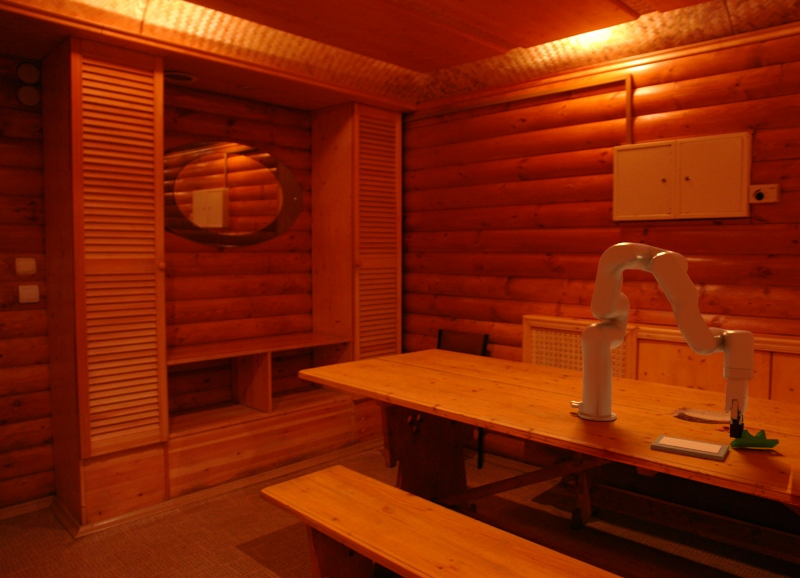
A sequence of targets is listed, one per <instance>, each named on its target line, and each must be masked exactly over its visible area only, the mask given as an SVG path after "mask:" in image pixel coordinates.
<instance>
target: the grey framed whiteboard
mask: <svg viewBox="0 0 800 578" xmlns="http://www.w3.org/2000/svg"><path fill="white" fill-rule="evenodd" d="M650 450H655V451H661V452H667V453H674V454H679V455H685V456H692V457H695V458H696V457H697V458H701V459H702V458H703V459H708V460H713V461H717V462H718V461H719V462H723V461H724V460H725V458H726V456H727V454H728V452H729V450H730V446H729V445H726V444H719V443H714V442H707V441H701V440H700V441H699V440H694V439H689V438H684V437H683V438H682V437H676V436H670V435H663V434H659V435H658V437H657V438H656V439H655V440H654V441H653V442H652V443H651V444H650Z"/></svg>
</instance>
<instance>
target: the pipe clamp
mask: <svg viewBox="0 0 800 578" xmlns="http://www.w3.org/2000/svg"><path fill="white" fill-rule="evenodd" d="M779 444H780V441H779V439H778V438H767V436H766V430H765V429H761V430H760V431H758V432H757V433H755V435H753V434H751V433H750V432H749V430H748V429H745V428H744V431H742V438H733V439H732V440H731V442H730V443H729V445H730V446H729V447H730V448H755V449H756V448H758V449H761V448H762V449H773V448H775V447H777V445H779Z"/></svg>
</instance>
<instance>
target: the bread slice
mask: <svg viewBox="0 0 800 578" xmlns="http://www.w3.org/2000/svg"><path fill="white" fill-rule="evenodd" d="M670 415H672V417H673V418H674V419H675V418H676V419H679V420H681V421H686V422H694V423H705V424H730V419H731V413H730V412H728V413H725V412H724V411H723V412H722V411H716V410H707V409H699V408H691V407H686V406H684V407H679V408H677V409H675V410H673V411H672V412H671V413H670Z"/></svg>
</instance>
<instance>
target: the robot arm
mask: <svg viewBox="0 0 800 578" xmlns="http://www.w3.org/2000/svg"><path fill="white" fill-rule="evenodd" d="M626 270H640V271H644V272H647V273H651V274H652V275H653V277H654V279H655V280H656V282H657V284H658V285H659V286H660V288H661V290H662V292H663V293H664V295H665V297H666V298H667V300H668V302H669V304H670V305H671V308H672V313H673V317H674V320H675V323H676V326H677V327H678V330H679V332H680V333H681V335H682V337H683V339H684V340H685V341H686V343H687V345H688V346H689V348H690V349H691V350H692V351H693V352H694V353H696V354H698V355H702V356H709V355H712V354H717V353H723V364H722V365H723V367H722V368H723V374H722V375H723V378H724V379H726V383H725V394H724V395H725V396H724V410H723V412H724V413H730V414H731V419H730V423H729V437H730V439H731V438H733V439H735V438H742V431H744V430H745V423H744V420H745V419H744V414H745V413H746V411H747V409H748V403H749V381H753V380H754V365H755V364H754V362H755V361H754V360H755V359H754V356H755V354H754V353H755V335H754V333H753V332H752V331H751V330H750V331H748V330H745V329H744V330H743V329H742V330H741V329H724V328H721V327H709V326H708V324H707V323H706V321H705V320H704V317H703V316H702V313H701V311H700V308H699V299H700V293H699V290H698V289H697V287H696V286H695V283H694V282H693V281H692V280H691V278H690V276H689V275H688V273H687V272H688V270H689V263H688V261H687V259H686V257H685V256H684V255H683V254H681V253H679V252H675V251H671V250H668V249H663V248H660V247H655V246H653V245H652V246H651V245H648V244H645V243H638V242H637V243H635V242H621V243H617V244H613V245H611V246H609V247H608V248H607V249H606V250H604V252H603V253H602V254H601V256H600V258H599V261H598V265H597V272H596V276H595V277H596V278H595V282H594V287H593V292H592V297H591V300H590V301H591V302H590V313H591V314H592V316H593V317H594V318H596V319H598V320H600V321H599V322H596V323H595V322H594V323H591V324H588V325H587V326H586V327H585V328H583V330H582V332H581V334H580V335H581V336H580V345H581V352H582V391H581V393H582V395H581V398H582V399H581V401H579V402H578V401H574V400H571V401H570V403H569V405H570V407H571V408H572V409H573V408H574V409H578V410H577V412H576V414H577V416H578V417H579V418H582V419H585V420H589V421H595V422H596V421H597V422H607V421H608V422H609V421H610V422H611V421H614V420H616V419H617V414H616V412H613V407H612V405H613V366H614V365H613V357H612V352H611V350H613V349H617V348H618V347H619V346H621V345H622V343H624V341H625V340H624V339H625V336H626V331H627V326H628V323H629V317H630V313H631V304H630V300H629V297H628V296H627V295H626V294H625V293H624V292H622V287H623V283H624V275H623V273H624V271H626Z"/></svg>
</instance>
